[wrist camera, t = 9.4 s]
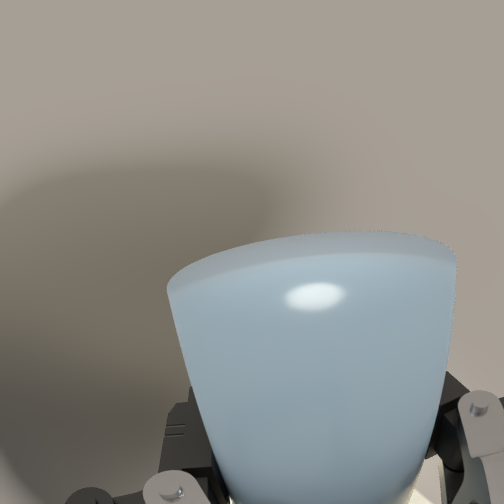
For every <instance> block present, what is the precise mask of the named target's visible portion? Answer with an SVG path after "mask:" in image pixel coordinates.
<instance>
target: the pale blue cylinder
mask: <svg viewBox="0 0 504 504" xmlns="http://www.w3.org/2000/svg"><path fill="white" fill-rule="evenodd" d="M456 265H457V263H456V256H455V254H454V252H453V251H452V250H451V249H450V248H449V247H448V246H446V245H444V244H443V243H441V242H438V241H436V240H433V239H430V238H427V237H423V236H418V235H413V234H407V233H399V232H386V231H339V232H324V233H314V234H305V235H297V236H290V237H283V238H277V239H272V240H266V241H261V242H257V243H252V244H248V245H244V246H240V247H236V248H233V249H229V250H226V251H223V252H219V253H216V254H214V255H211V256H208V257H206V258H203V259H201V260H198V261H196V262H194V263H192V264H190V265H188V266H187V267H185V268H183V269H182V270H181V271H179V272H178V273H176V274H175V275H174V276H173V277H172V278H171V280H170V281H169V283H168V286H167V293H168V297H169V301H170V306H171V310H172V314H173V318H174V322H175V326H176V330H177V334H178V338H179V341H180V345H181V349H182V353H183V357H184V360H185V364H186V368H187V371H188V375H189V378H190V381H191V385H192V388H193V392H194V395H195V398H196V401H197V405H198V408H199V411H200V414H201V417H202V420H203V423H204V426H205V429H206V432H207V435H208V438H209V441H210V444H211V447H212V450H213V453H214V455H215V458H216V461H217V464H218V466H219V469H220V472H221V475H222V477H223V480H224V482H225V485H226V488H227V490H228V493H229V495H230V498H231V500H232V503H233V504H408V502H409V500H410V498H411V495H412V492H413V490H414V487H415V484H416V482H417V479H418V476H419V473H420V470H421V467H422V465H423V462H424V458H425V455H426V452H427V449H428V446H429V442H430V439H431V435H432V431H433V428H434V424H435V420H436V416H437V412H438V408H439V403H440V399H441V394H442V389H443V384H444V379H445V374H446V368H447V362H448V355H449V349H450V342H451V334H452V325H453V314H454V303H455V289H456Z"/></svg>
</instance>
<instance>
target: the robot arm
mask: <svg viewBox="0 0 504 504" xmlns="http://www.w3.org/2000/svg"><path fill="white" fill-rule="evenodd" d="M166 426H167V427H166V429H165V437H164V440H163V446H162V452H161V458H160V465H159V471H158V474H156V475H154V476H153V477H151V478H150V479H149V480H148V481H147V483H146V484H145V486H144V489H143V490H142V491H139V492H137V493H133V494H128V495H124V496H119V497H114V498H112V497H111V496H110V495H109V494H108V493H107V492H106V491H104V490H102V489H99V488H95V487H94V488H93V487H90V488H83V489H80V490H78V491H76V492H75V493H73V494H72V495H71V496H70V497H69V498H68V500H67V501H66V503H65V504H230V496H229V493H228V490H227V488H226V485H225V482H224V480H223V477H222V475H221V472H220V469H219V466H218V464H217V461H216V458H215V455H214V453H213V450H212V447H211V444H210V441H209V438H208V435H207V432H206V429H205V426H204V423H203V420H202V417H201V414H200V411H199V408H198V405H197V401H196V398H195V395H194V392H193V388H192V386H191V387H190V389H189V397H188V402H183V403H176V404H175V406H174V407H173V408H172V410H171V411H170V412H169V413H168V418H167V424H166ZM436 454H438V455H439V457H440V458H441V459H440V462H439V465H438V469H439V478H440V488H441V501H442V504H504V397H502V398H499V399H498V398H497V396H495V395H494V394H492V393H490V392H487V391H472V392H470V391H469V390H468V389H467V388H466V387H464V386H463V385H462V384H461V383H460V382H459V381H458V380H457V379H455V378H454V377H453V376H452V375H451V374H450V373H449V372H447V371H446V374H445V379H444V384H443V389H442V394H441V399H440V403H439V408H438V412H437V416H436V420H435V424H434V428H433V431H432V435H431V439H430V442H429V446H428V449H427V452H426V455H425V459H428V458H430V457H432V456H434V455H436Z"/></svg>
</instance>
